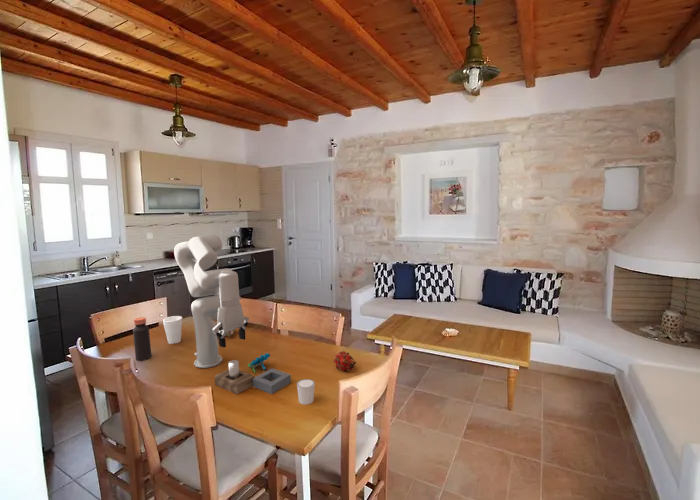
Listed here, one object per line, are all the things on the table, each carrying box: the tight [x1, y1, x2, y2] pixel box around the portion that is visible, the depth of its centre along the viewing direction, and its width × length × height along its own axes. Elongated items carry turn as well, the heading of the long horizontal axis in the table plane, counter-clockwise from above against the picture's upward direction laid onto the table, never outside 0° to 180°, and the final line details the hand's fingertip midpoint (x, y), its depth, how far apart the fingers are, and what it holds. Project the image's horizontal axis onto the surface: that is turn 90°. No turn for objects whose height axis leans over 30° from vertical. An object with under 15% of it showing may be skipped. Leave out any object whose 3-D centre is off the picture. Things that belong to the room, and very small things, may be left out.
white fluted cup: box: [296, 378, 316, 406], centre depth 138 cm, size 7×7×7 cm
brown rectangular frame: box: [214, 368, 255, 395], centre depth 151 cm, size 14×9×4 cm, turn 56°
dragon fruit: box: [333, 350, 357, 373], centre depth 163 cm, size 8×8×12 cm
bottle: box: [132, 316, 152, 362], centre depth 177 cm, size 7×7×20 cm
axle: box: [228, 359, 240, 380], centre depth 150 cm, size 4×4×10 cm
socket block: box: [252, 368, 292, 395], centre depth 151 cm, size 11×11×4 cm
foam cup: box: [162, 315, 183, 345], centre depth 198 cm, size 10×9×13 cm
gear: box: [247, 352, 271, 374], centre depth 165 cm, size 11×6×10 cm
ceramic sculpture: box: [218, 330, 235, 338], centre depth 207 cm, size 11×9×15 cm
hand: (232, 342), depth 148 cm, fingers open, 9 cm apart
